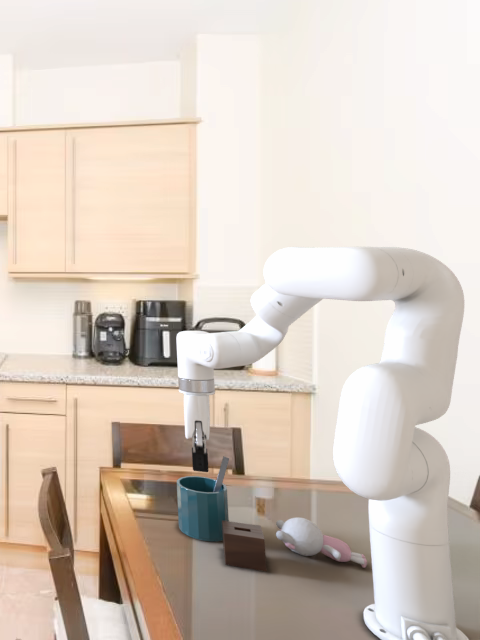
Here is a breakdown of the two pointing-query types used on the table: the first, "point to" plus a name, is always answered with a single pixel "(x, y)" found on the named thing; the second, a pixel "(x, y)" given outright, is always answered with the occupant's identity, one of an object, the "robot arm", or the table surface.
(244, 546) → the utensil block
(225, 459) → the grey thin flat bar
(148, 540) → the table surface
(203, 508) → the teal cylindrical cup
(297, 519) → the toy
